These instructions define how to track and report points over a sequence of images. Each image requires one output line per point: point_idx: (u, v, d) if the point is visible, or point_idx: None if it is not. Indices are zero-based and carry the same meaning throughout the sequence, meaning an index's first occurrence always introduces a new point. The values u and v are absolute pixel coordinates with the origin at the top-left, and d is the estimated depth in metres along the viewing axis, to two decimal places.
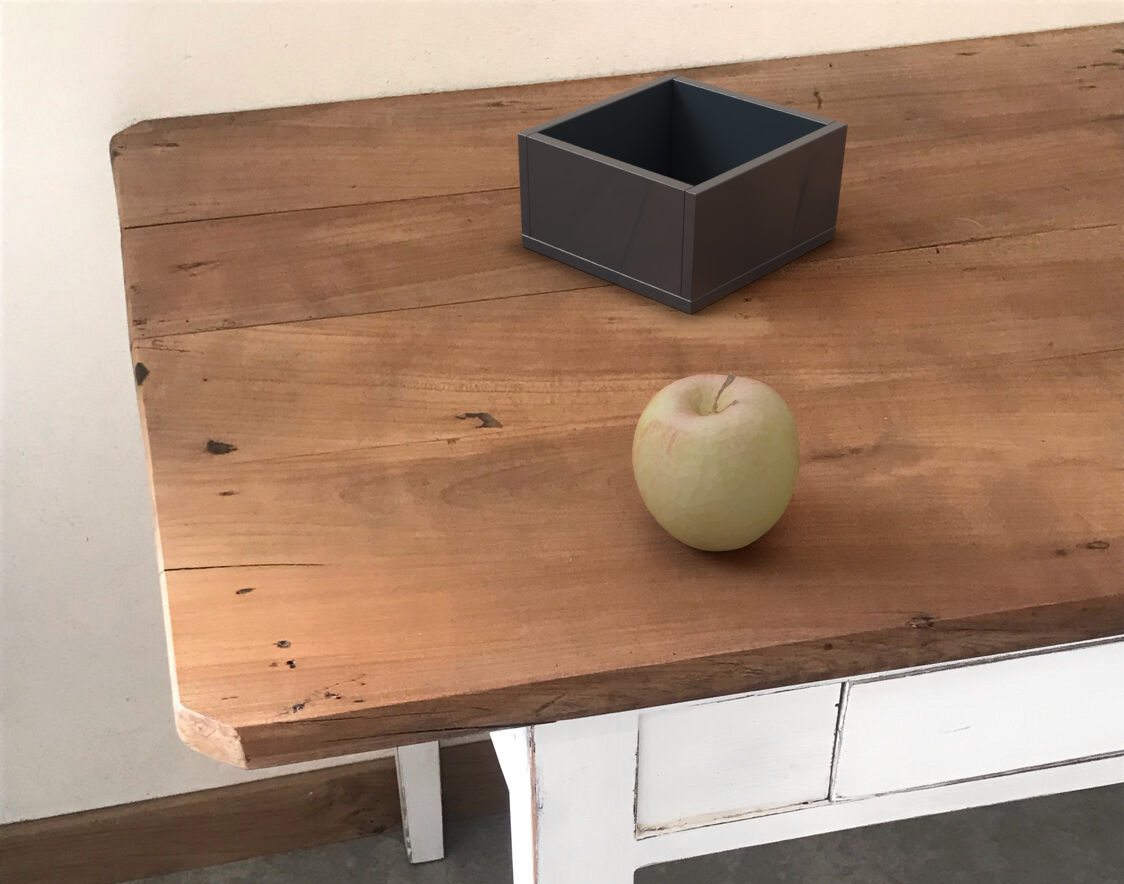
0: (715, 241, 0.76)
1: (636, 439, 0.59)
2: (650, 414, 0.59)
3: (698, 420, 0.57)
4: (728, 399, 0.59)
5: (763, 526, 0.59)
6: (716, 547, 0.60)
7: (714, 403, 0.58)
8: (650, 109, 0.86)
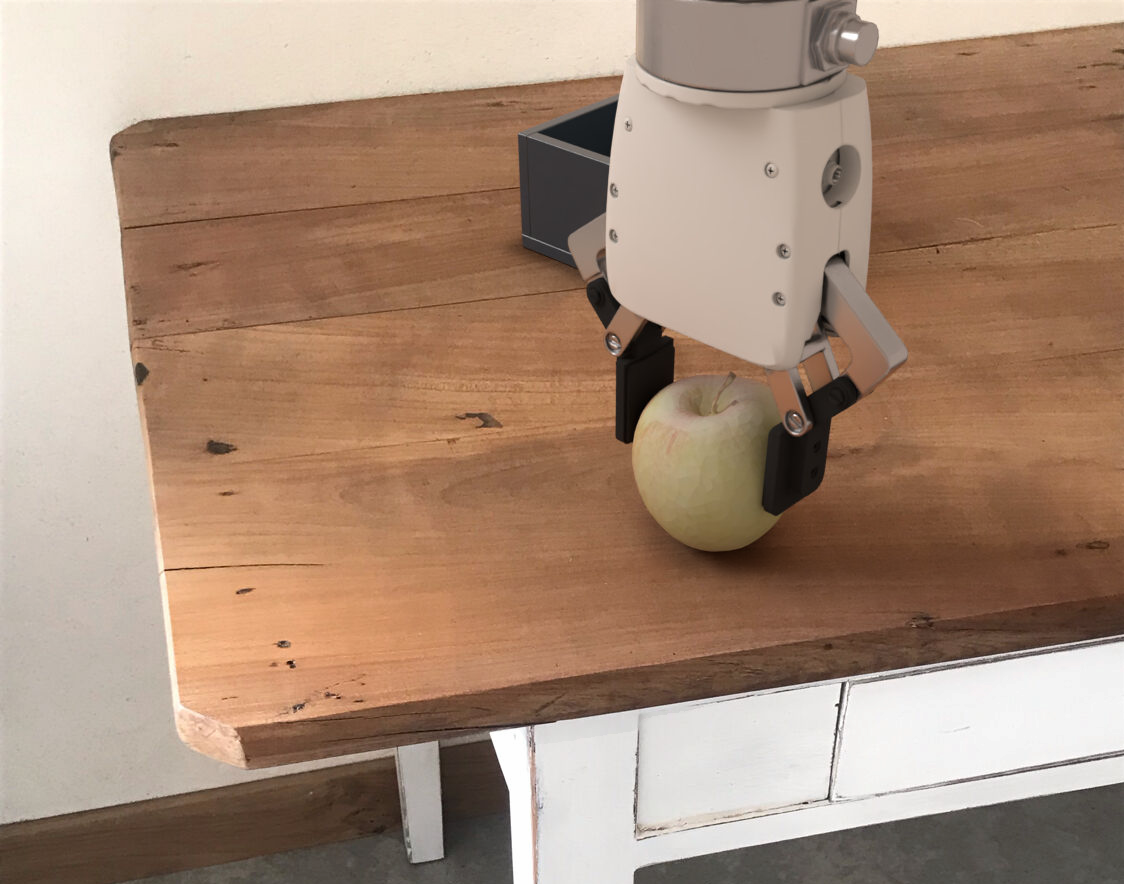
0: None
1: (636, 439, 0.59)
2: (650, 414, 0.59)
3: (698, 420, 0.57)
4: (728, 399, 0.58)
5: (763, 526, 0.59)
6: (716, 547, 0.60)
7: (714, 403, 0.58)
8: None
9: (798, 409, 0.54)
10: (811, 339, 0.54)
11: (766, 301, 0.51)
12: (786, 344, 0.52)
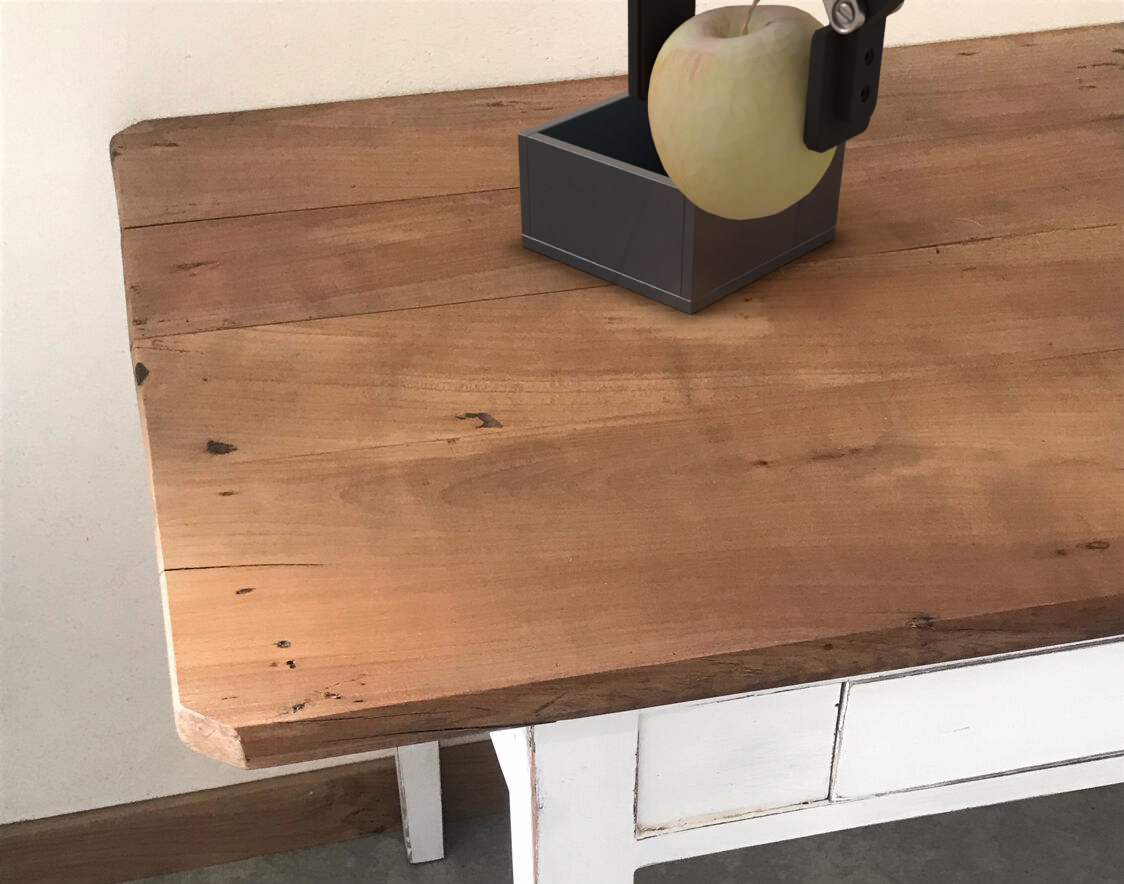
0: (715, 241, 0.76)
1: (652, 79, 0.50)
2: (668, 46, 0.50)
3: (726, 40, 0.48)
4: (760, 24, 0.50)
5: (804, 176, 0.50)
6: (749, 207, 0.51)
7: (744, 27, 0.49)
8: None
9: None
10: None
11: None
12: None
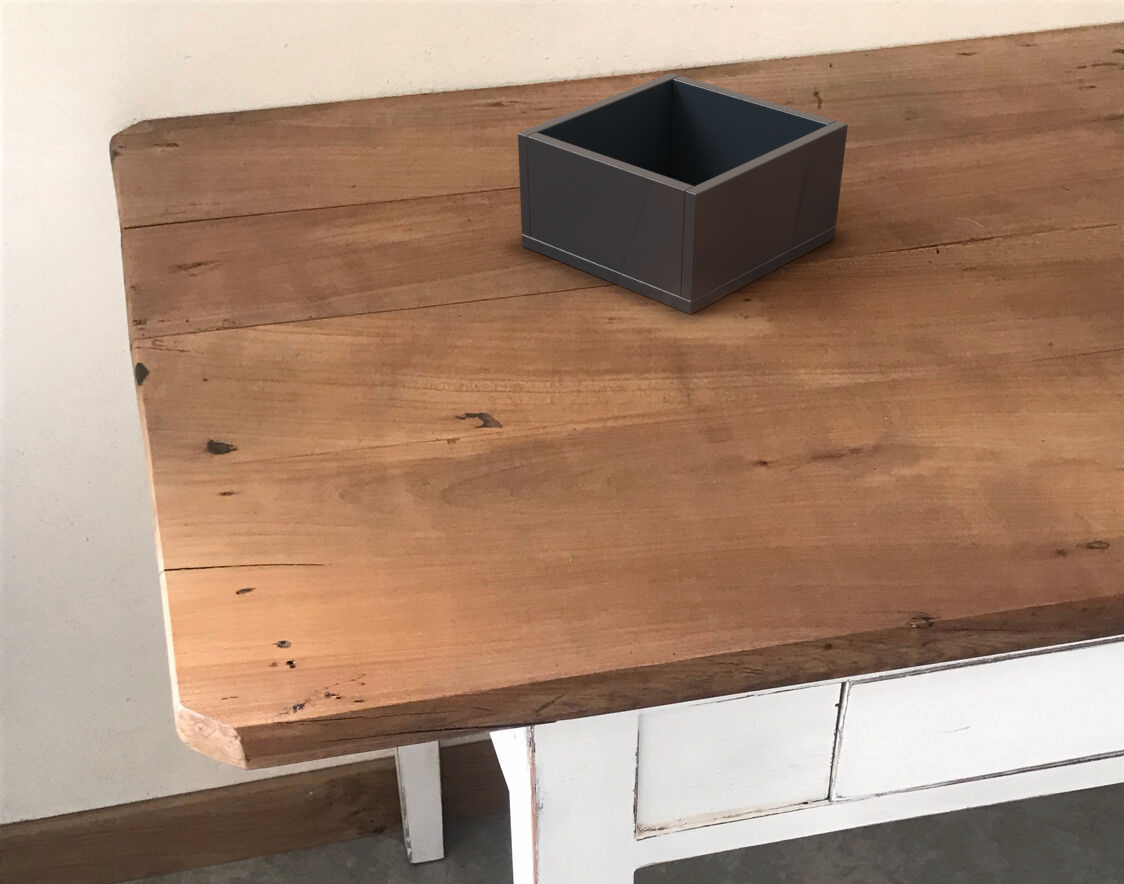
0: (715, 241, 0.76)
1: None
2: None
3: None
4: None
5: None
6: None
7: None
8: (650, 109, 0.86)
9: None
10: None
11: None
12: None
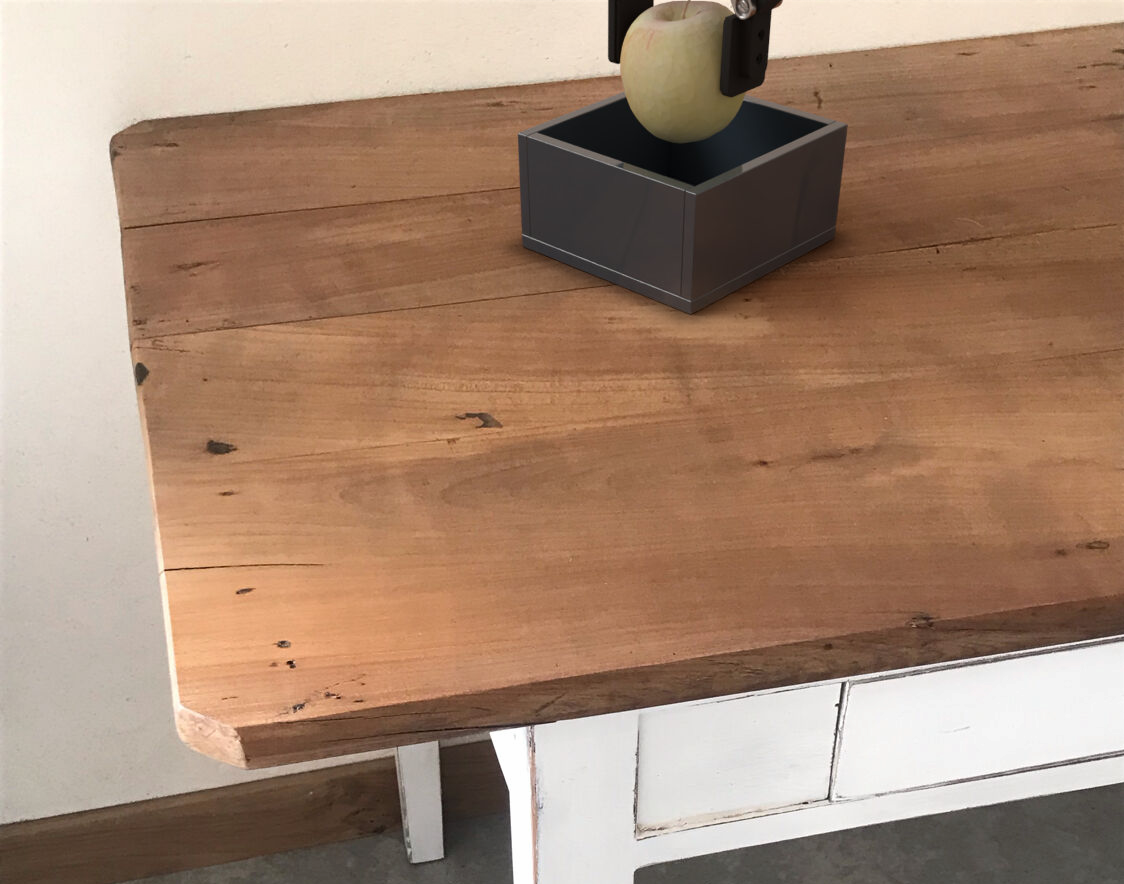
0: (715, 241, 0.76)
1: (623, 48, 0.77)
2: (634, 26, 0.76)
3: (670, 22, 0.75)
4: (694, 13, 0.76)
5: (721, 113, 0.76)
6: (685, 133, 0.77)
7: (683, 14, 0.76)
8: None
9: None
10: None
11: None
12: None
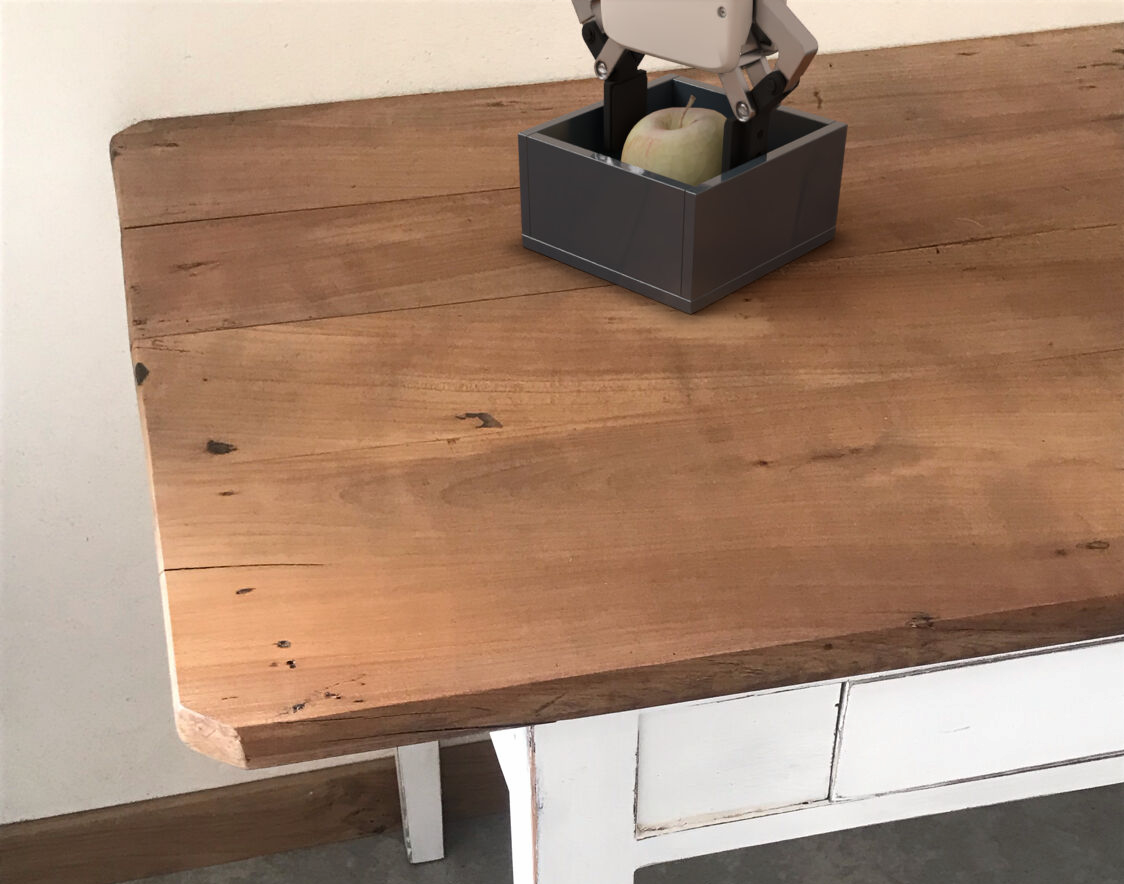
0: (715, 241, 0.76)
1: (623, 153, 0.81)
2: (633, 132, 0.80)
3: (668, 131, 0.79)
4: (690, 120, 0.80)
5: None
6: None
7: (680, 122, 0.80)
8: (650, 109, 0.86)
9: (744, 99, 0.75)
10: (751, 50, 0.75)
11: (713, 15, 0.72)
12: (728, 48, 0.73)
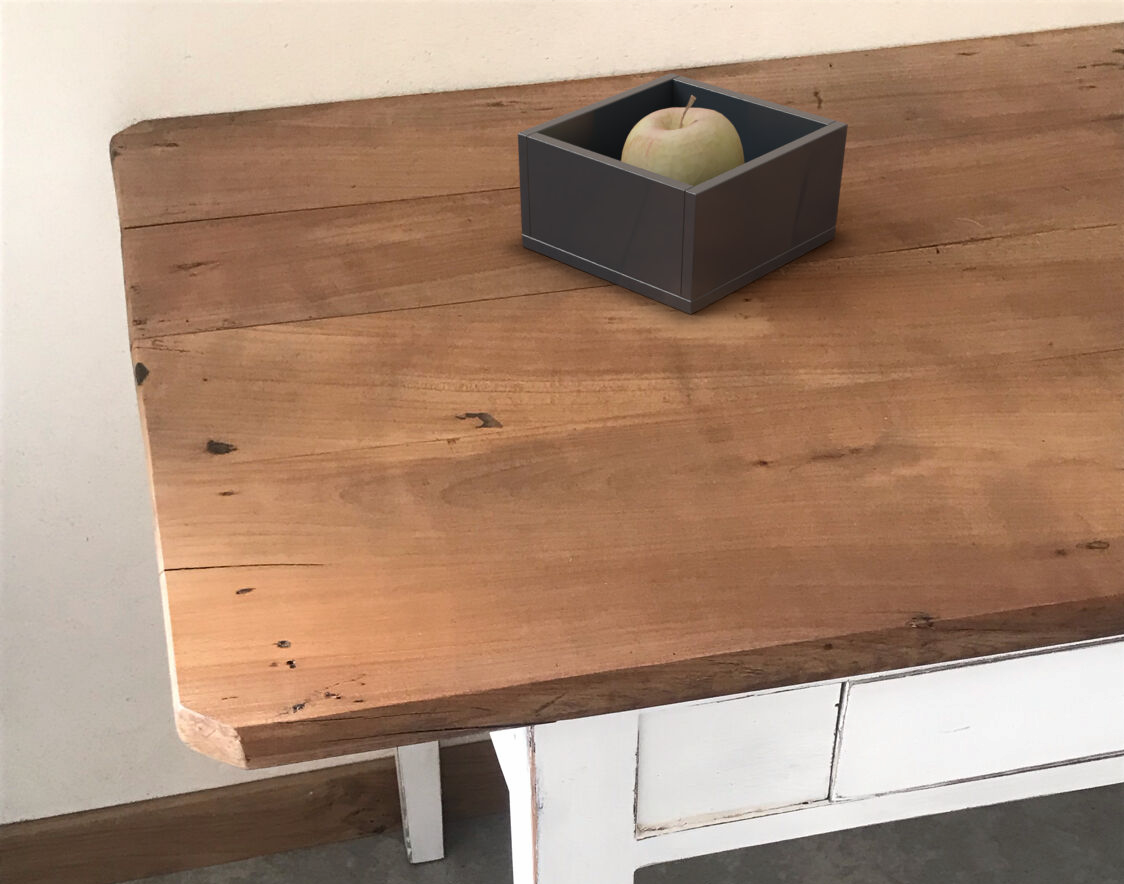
0: (715, 241, 0.76)
1: (623, 153, 0.81)
2: (633, 132, 0.80)
3: (668, 131, 0.79)
4: (691, 120, 0.80)
5: None
6: None
7: (680, 122, 0.80)
8: (650, 109, 0.86)
9: None
10: None
11: None
12: None
